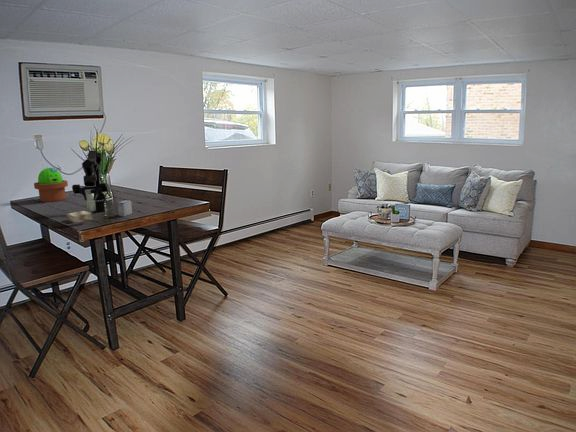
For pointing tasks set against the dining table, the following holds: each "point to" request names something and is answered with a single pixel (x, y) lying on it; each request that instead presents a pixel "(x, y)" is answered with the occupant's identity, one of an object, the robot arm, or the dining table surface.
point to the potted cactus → (51, 185)
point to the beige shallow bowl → (79, 216)
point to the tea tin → (90, 202)
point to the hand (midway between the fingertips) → (90, 199)
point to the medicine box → (125, 208)
